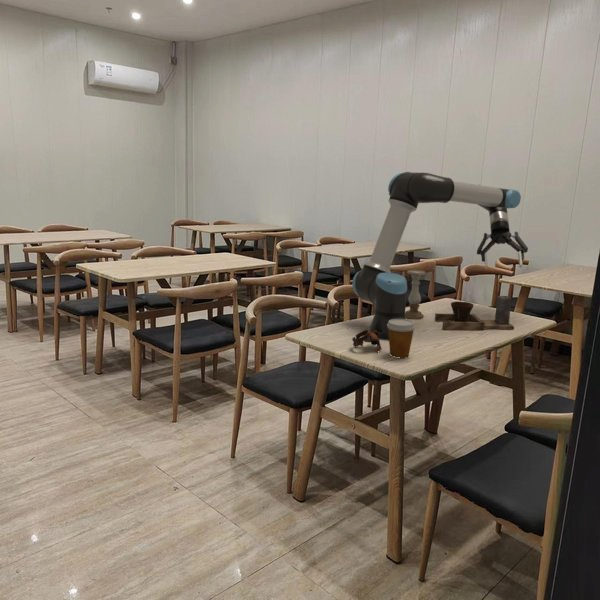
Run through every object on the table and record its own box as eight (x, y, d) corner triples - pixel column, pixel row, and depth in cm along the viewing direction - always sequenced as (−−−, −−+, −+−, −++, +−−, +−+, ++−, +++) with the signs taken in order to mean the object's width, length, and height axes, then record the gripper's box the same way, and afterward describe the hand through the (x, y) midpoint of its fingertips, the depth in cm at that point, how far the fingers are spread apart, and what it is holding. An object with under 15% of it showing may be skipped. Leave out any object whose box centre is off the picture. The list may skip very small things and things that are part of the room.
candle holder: (400, 314, 242) (402, 269, 237) (418, 313, 243) (421, 269, 239) (408, 319, 233) (410, 273, 229) (427, 319, 235) (430, 272, 230)
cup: (478, 327, 221) (476, 303, 219) (456, 330, 221) (454, 306, 219) (470, 322, 230) (468, 299, 228) (449, 325, 229) (447, 302, 227)
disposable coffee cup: (418, 355, 187) (420, 321, 185) (404, 362, 180) (406, 327, 178) (394, 349, 193) (396, 316, 191) (380, 355, 186) (381, 322, 184)
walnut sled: (442, 329, 219) (445, 299, 216) (434, 320, 232) (436, 292, 230) (515, 330, 218) (518, 301, 216) (503, 321, 232) (506, 293, 229)
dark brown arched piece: (378, 357, 187) (366, 337, 185) (356, 363, 192) (345, 343, 191) (390, 340, 196) (379, 320, 194) (369, 346, 202) (358, 327, 200)
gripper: (528, 227, 235) (534, 270, 226) (468, 230, 241) (471, 272, 231) (531, 217, 229) (537, 261, 219) (469, 221, 234) (472, 263, 225)
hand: (503, 267), depth 225 cm, fingers open, 13 cm apart
